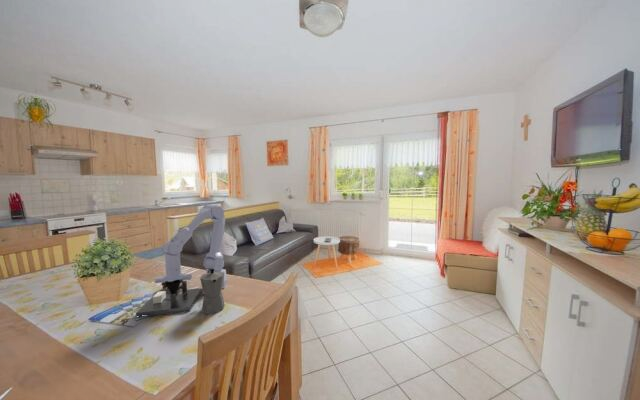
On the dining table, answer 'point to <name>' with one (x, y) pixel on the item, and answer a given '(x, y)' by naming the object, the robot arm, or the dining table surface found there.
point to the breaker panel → (182, 303)
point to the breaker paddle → (159, 297)
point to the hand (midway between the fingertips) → (174, 296)
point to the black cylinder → (173, 300)
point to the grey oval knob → (184, 286)
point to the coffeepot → (212, 292)
